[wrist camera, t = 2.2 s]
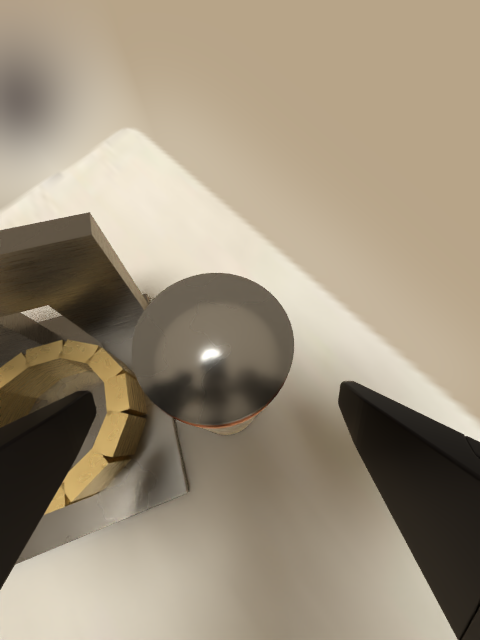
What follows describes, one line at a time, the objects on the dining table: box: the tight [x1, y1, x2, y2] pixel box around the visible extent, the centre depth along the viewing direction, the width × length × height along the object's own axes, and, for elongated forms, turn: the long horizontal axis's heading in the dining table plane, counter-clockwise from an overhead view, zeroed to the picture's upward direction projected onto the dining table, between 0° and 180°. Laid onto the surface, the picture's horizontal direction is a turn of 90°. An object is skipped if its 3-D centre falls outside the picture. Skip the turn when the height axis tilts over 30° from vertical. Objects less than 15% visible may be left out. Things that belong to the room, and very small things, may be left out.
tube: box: [131, 273, 294, 435], centre depth 12 cm, size 5×5×12 cm
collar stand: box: [0, 212, 189, 564], centre depth 12 cm, size 15×12×10 cm
